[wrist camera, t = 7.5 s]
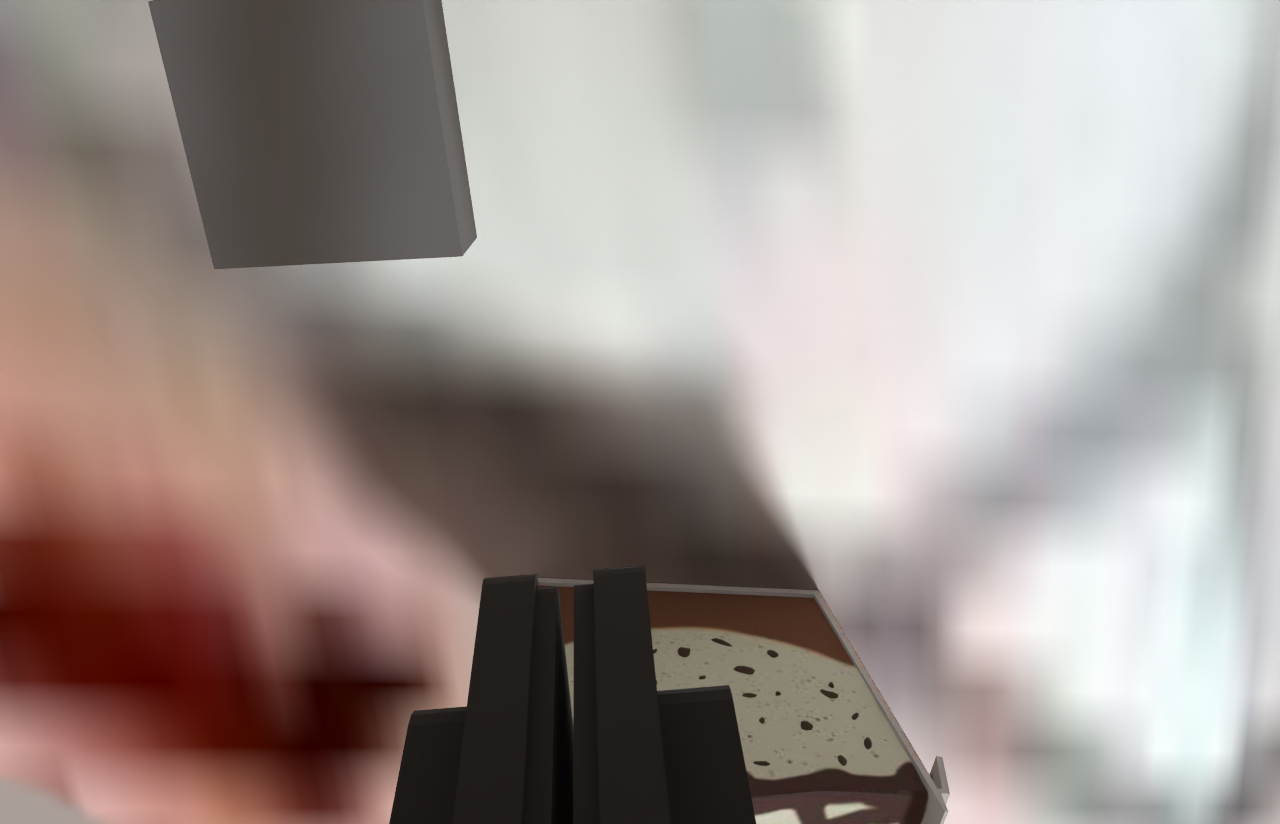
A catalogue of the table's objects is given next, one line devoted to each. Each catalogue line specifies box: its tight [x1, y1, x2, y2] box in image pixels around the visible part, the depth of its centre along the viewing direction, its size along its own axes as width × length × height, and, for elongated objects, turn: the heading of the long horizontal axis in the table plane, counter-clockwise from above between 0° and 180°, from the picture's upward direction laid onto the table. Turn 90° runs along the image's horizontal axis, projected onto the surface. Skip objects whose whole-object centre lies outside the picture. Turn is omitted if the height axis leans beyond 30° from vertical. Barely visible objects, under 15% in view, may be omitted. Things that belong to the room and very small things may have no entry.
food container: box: [538, 578, 950, 824], centre depth 35 cm, size 12×6×10 cm, turn 83°
